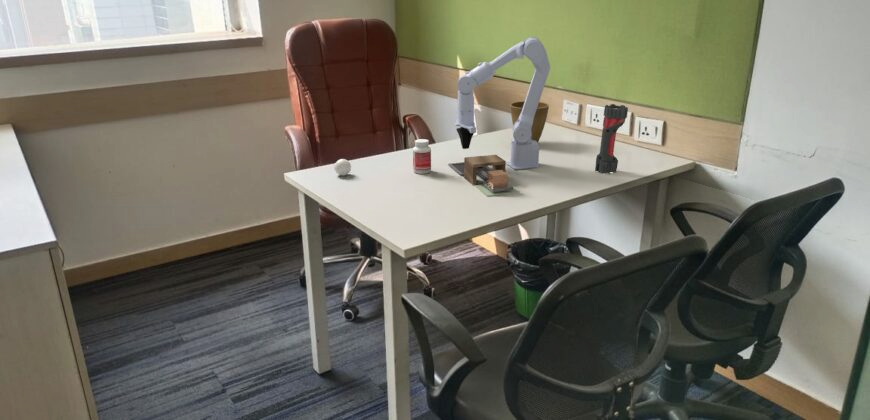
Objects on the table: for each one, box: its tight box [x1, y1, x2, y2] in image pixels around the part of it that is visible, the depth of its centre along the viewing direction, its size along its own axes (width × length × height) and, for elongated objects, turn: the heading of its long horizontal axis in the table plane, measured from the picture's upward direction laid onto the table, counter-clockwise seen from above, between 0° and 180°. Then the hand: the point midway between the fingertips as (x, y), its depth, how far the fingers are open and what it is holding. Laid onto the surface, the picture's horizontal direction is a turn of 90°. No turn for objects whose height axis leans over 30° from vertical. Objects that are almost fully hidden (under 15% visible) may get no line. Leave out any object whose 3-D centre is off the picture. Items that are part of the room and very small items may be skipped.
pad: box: [474, 184, 520, 197], centre depth 206 cm, size 11×10×1 cm
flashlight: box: [594, 103, 629, 174], centre depth 219 cm, size 8×8×23 cm
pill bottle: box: [412, 138, 432, 175], centre depth 221 cm, size 6×6×11 cm
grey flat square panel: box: [447, 161, 492, 177], centre depth 226 cm, size 12×13×1 cm
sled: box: [464, 155, 514, 192], centre depth 212 cm, size 7×26×5 cm, turn 19°
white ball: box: [334, 158, 352, 177], centre depth 220 cm, size 8×6×6 cm
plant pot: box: [509, 100, 550, 144], centre depth 253 cm, size 15×15×16 cm
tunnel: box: [463, 154, 507, 186], centre depth 214 cm, size 11×8×7 cm
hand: (465, 148), depth 229 cm, fingers closed
